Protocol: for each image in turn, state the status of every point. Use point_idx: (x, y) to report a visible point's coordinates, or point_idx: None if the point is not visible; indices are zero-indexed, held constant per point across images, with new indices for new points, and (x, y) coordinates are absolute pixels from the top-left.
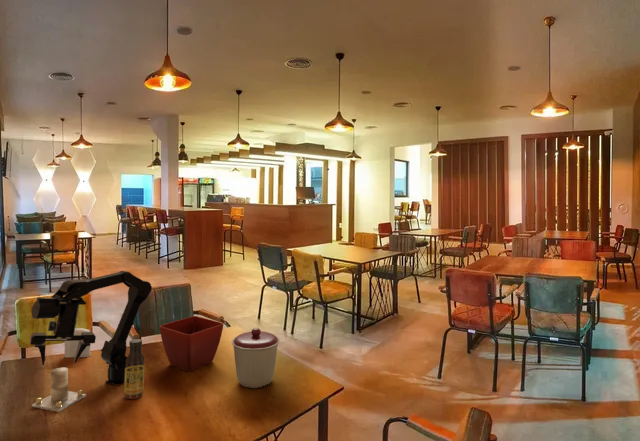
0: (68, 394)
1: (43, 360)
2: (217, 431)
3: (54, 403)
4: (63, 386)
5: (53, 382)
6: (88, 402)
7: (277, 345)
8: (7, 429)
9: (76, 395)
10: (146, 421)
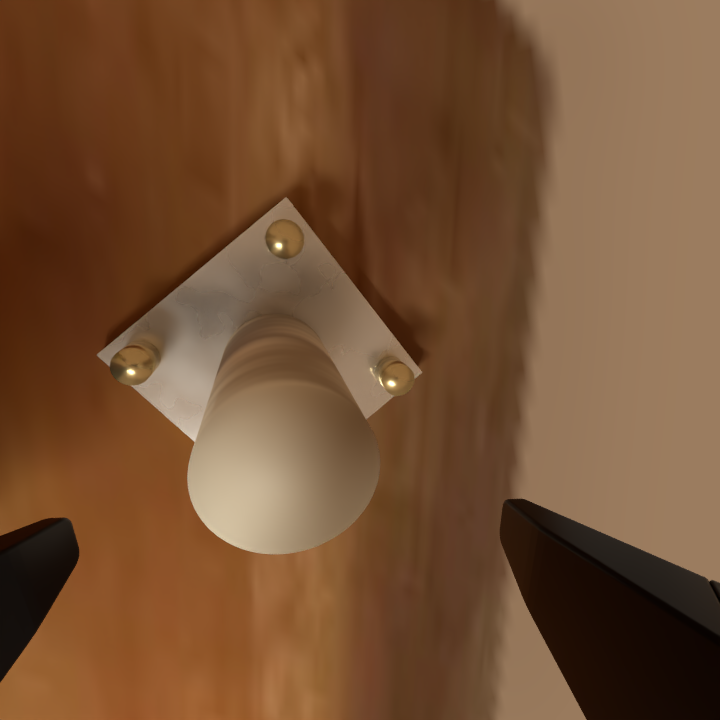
0: None
1: (568, 528)
2: None
3: (308, 315)
4: (248, 346)
5: (334, 371)
6: (81, 236)
7: None
8: (542, 140)
9: (168, 369)
10: None
